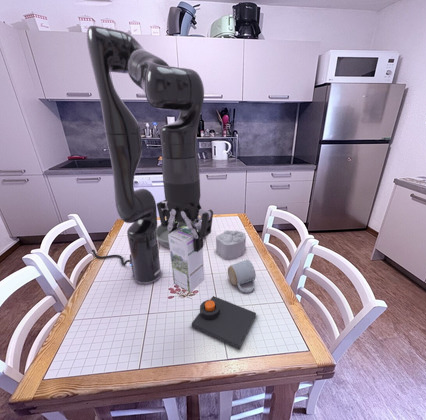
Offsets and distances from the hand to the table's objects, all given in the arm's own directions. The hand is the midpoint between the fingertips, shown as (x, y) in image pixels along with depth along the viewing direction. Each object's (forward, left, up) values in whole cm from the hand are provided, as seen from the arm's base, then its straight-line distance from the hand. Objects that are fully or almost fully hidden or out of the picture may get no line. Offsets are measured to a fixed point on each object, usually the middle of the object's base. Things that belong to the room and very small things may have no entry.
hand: (186, 246), depth 56 cm
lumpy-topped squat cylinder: (-8, +42, -28) cm, 51 cm away
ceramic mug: (+5, +25, -28) cm, 38 cm away
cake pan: (-35, +41, -28) cm, 61 cm away
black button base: (+7, +7, -28) cm, 29 cm away
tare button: (+2, +7, -25) cm, 26 cm away
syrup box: (0, 0, -11) cm, 11 cm away
